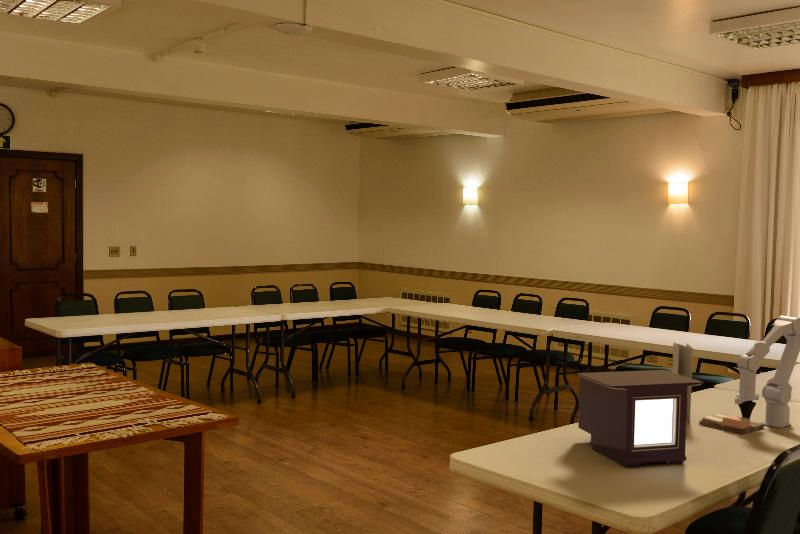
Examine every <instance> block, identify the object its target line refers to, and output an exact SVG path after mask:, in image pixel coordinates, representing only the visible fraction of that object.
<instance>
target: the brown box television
mask: <svg viewBox="0 0 800 534" xmlns="http://www.w3.org/2000/svg"><path fill="white" fill-rule="evenodd" d="M576 375H577V376H578V377H579V385H578V387H579V389H578V390H579V391H578V422H577V424H578V426H577V427H578V429H580V430H581V431H584V432H586V433H588V434H589V435H590V441H589V445H590V447H591V450H593V449H594V450H593V451H595V452H597V453H599V454H601V455H602V456H604V457H606V458H607V459H609V460H611V461H614V462H615V463H617V464H619V466H620V465H621V466H622V467H624V468H626V469H632V468H633V469H634V468H635V469H636V468H642V464H649V463H664V464H667V465H668V466H673V465H684V462H685V461H687V456H686V446H687V445H686V443H687V442H686V440H687V439H686V438H687V421H686V417H687V389H688V387H691V388H692V387H695V386H696V387H697V386H701V385H703V384H704V383H705V382H704V381H701V380H698V379H695V378H689V377H686V376H682V375H679V374H676V373H673V372H672V371H669V370H666V369H656V370H653V369H651V370H627V371H625V370H624V371H601V372H600V371H597V372H577V373H576Z"/></svg>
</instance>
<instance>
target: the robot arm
mask: <svg viewBox="0 0 800 534" xmlns="http://www.w3.org/2000/svg"><path fill="white" fill-rule="evenodd" d="M782 336H784V338H785V339H786V343H785V346H784V349H783V352H782V354H781V357H780V360H779V362H778V366H777V368H776V371H775V374H774V376H773V377H772V378H770V379H768V380H767V381H766V384H765V385H764V386H763V387H762V390H761V396H762V398H764V402H765V421H762V422H760V424H764V426H769V427H773V428H779V429H781V428H786V427H788V426H791V425H792V423H790V413H791V411H790V410H791V408H790V406H789V405H788V403H789V402H790V401H791V399H792V391H793V387H792V385H791V383H790V382H789V381H790V380H791V379H790V378H791V376H792V375H793V374H792V373H793V371H794V369H795V366H796V362H797V360H798V358H799V355H800V317H796V316H795V317H793V316H788V315H780V316H779V317H778V318H777V319H776V320H774V325H773V327H772V328H771V330H770V331H768V333H767V335H766V336H765V337H764V338H763V340H761V341H759V340H758V341H756V342H755V343H754V344H753V346H752V347H751V348H750V349H749V350H748V351H746V353H745V354H742V355H741V356H739V358H738V359H737V361H736V365H737V367H738V373H739V389H738V391H739V392H738V394H736V397H735V398H734V404H736V405H737V406H738V407H739V410H740V413H741V417H742V418H747V419H750V420H751V416H752V414H753V413H752V412H753V411H754V408H755V407H756V405H757V402H755V401H759V400H760V396H759V395H760V394H757V393H756V381H757V379H756V378H757V377H756V376H757V370H760V366H761V363H762V360H763V359H764V358H766V356H767V355H768V354H769V353H770V351H771V348H770V347H771V346H772V345H773V344H775V342H777V341H778V340H779V339H780V338H781V337H782Z"/></svg>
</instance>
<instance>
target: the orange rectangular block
mask: <svg viewBox="0 0 800 534" xmlns="http://www.w3.org/2000/svg"><path fill="white" fill-rule="evenodd" d="M729 415H730V416H726V417H723V425H726V426H730V427H735V428H739V429H744V428H748V427H750V422H751V418H750V419H747V418H742V416H737V415H733V414H729Z"/></svg>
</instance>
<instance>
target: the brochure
mask: <svg viewBox="0 0 800 534" xmlns="http://www.w3.org/2000/svg"><path fill="white" fill-rule="evenodd" d="M672 350H673V352H672V371H671V372H673V373H676V374H679V375H682V376H686V377H689V378H692V377H693V356H694V353H693V352H694V348H693V347H692V346H691V345H690V344H689V343H688V342H686V345H683V344H680V343H677V342H673V346H672ZM692 379H693V378H692ZM691 406H692V386H691V387H688V389H687V417H686V420H687V421H686V422H688V421H689V422H688V423H690V422H691V412H692V411H691V410H692V409H691Z"/></svg>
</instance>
